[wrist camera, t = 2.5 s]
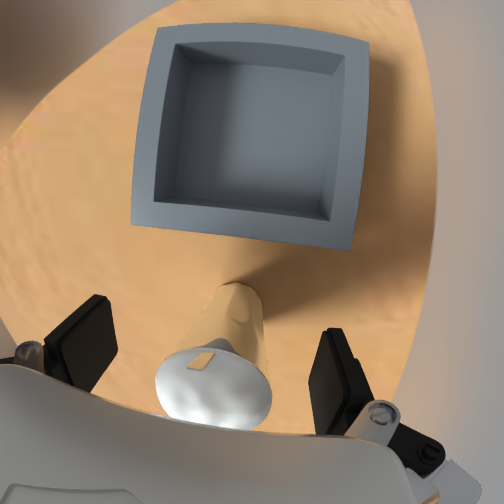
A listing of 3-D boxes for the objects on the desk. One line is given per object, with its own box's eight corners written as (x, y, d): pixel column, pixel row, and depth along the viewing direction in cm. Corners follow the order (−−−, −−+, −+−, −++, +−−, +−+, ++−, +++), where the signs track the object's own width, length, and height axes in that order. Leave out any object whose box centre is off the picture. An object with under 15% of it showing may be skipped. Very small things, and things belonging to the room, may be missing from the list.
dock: (333, 234, 15) (350, 251, 12) (158, 214, 16) (130, 225, 12) (350, 66, 13) (369, 42, 9) (178, 52, 13) (157, 27, 10)
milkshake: (276, 261, 16) (282, 377, 6) (269, 338, 18) (264, 470, 8) (200, 256, 16) (119, 354, 7) (201, 332, 18) (151, 452, 8)
